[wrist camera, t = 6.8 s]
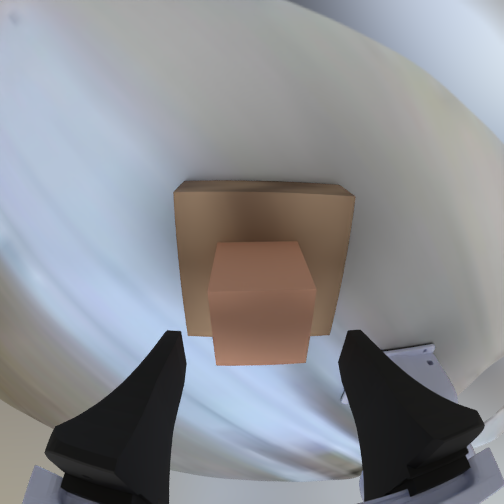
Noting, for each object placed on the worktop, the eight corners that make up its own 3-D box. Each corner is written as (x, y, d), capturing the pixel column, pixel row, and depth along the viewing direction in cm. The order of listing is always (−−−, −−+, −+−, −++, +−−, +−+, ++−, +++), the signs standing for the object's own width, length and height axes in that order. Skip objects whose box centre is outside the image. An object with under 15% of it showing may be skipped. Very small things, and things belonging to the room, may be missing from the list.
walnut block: (336, 183, 18) (355, 196, 15) (319, 306, 23) (329, 335, 19) (185, 179, 18) (173, 192, 15) (194, 306, 22) (188, 335, 19)
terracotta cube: (297, 241, 16) (316, 289, 12) (292, 305, 18) (305, 362, 14) (217, 242, 16) (207, 291, 12) (222, 307, 18) (216, 365, 14)
